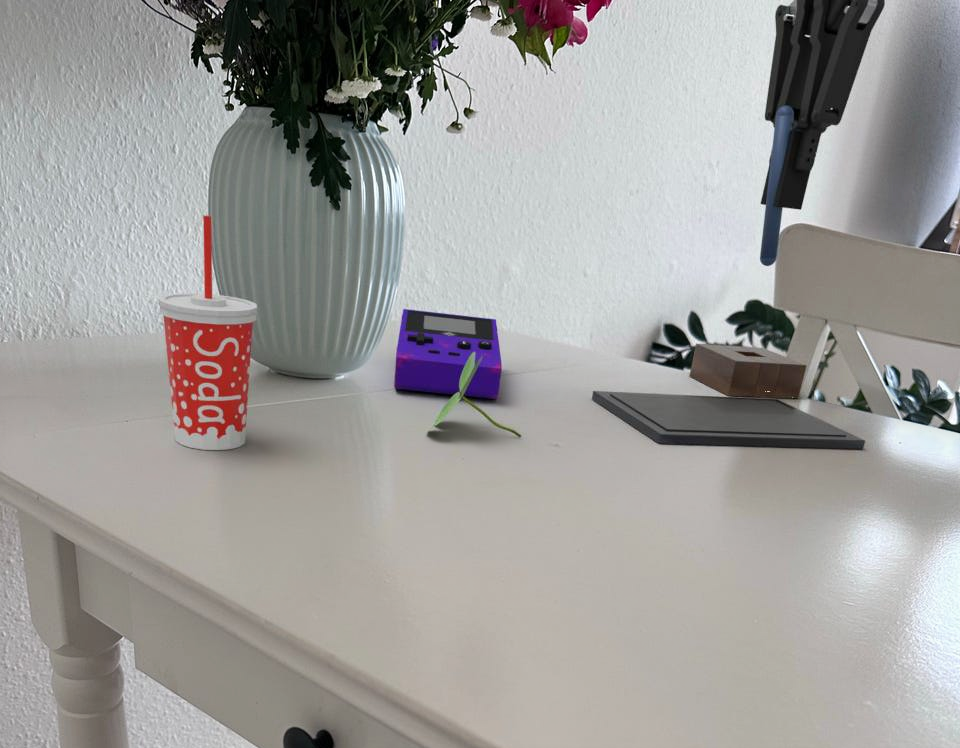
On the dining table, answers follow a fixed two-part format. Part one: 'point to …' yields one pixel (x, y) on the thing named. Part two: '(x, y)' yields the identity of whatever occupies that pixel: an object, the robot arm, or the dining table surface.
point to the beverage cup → (208, 362)
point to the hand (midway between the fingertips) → (780, 206)
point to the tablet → (724, 421)
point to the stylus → (775, 186)
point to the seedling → (463, 385)
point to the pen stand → (747, 371)
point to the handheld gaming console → (447, 353)
